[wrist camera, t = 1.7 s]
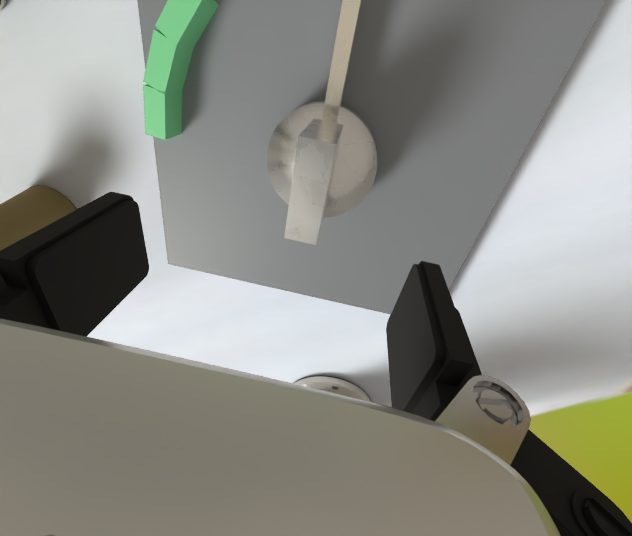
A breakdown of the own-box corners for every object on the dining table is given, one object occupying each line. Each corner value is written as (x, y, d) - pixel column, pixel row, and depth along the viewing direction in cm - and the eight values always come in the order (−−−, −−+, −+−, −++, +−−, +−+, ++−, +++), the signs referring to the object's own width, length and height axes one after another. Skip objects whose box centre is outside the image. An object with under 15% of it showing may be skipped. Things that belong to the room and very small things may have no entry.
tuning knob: (360, 216, 26) (359, 268, 19) (268, 196, 26) (236, 241, 20) (422, 3, 18) (454, -31, 12) (290, -26, 18) (247, -76, 12)
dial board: (427, 313, 33) (434, 340, 30) (175, 256, 33) (155, 276, 30) (616, -46, 17) (673, -71, 14) (135, -148, 18) (84, -195, 14)
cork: (35, 172, 30) (-107, 220, 21) (92, 217, 32) (-16, 278, 23) (17, 209, 33) (-116, 265, 24) (70, 248, 35) (-34, 313, 26)
